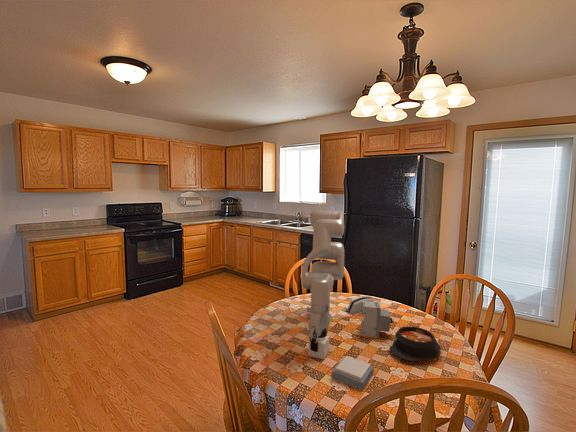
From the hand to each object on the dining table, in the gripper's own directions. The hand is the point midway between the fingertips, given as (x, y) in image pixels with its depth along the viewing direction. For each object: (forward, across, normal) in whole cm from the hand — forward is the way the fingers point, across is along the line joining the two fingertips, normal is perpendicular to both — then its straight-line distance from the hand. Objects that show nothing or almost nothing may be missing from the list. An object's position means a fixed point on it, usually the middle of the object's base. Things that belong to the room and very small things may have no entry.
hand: (318, 346), depth 129 cm
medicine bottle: (+4, 0, 0) cm, 4 cm away
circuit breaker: (+4, -32, +15) cm, 36 cm away
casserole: (+4, -26, +34) cm, 43 cm away
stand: (+3, +6, +18) cm, 19 cm away
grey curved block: (+4, -54, -2) cm, 55 cm away
